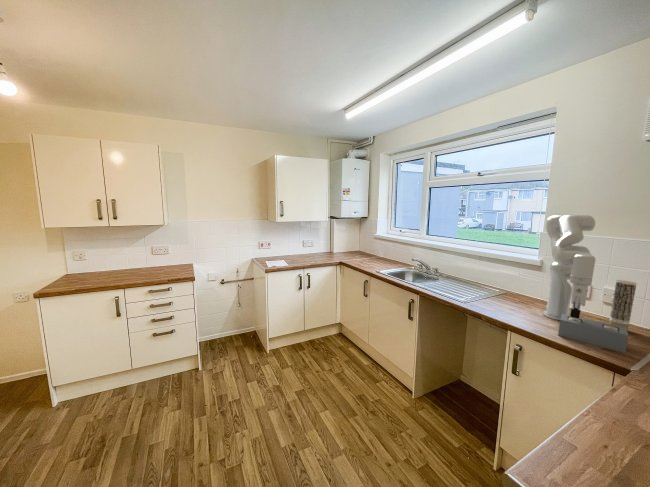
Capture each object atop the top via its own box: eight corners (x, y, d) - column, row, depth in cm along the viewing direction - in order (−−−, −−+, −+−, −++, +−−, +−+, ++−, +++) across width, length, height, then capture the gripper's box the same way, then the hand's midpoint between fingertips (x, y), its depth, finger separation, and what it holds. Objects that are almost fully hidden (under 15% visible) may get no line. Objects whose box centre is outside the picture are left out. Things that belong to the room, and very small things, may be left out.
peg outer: (601, 342, 123) (604, 327, 122) (601, 339, 126) (603, 324, 125) (615, 346, 120) (618, 330, 119) (614, 342, 123) (617, 327, 122)
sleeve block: (558, 335, 131) (560, 319, 130) (559, 328, 139) (561, 313, 138) (625, 352, 116) (628, 335, 115) (623, 343, 124) (626, 327, 123)
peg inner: (566, 333, 131) (568, 319, 130) (566, 330, 135) (568, 317, 134) (578, 336, 128) (580, 322, 127) (578, 333, 132) (581, 319, 131)
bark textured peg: (631, 332, 136) (640, 284, 132) (615, 331, 137) (624, 283, 133) (620, 326, 142) (628, 280, 139) (604, 325, 143) (612, 279, 140)
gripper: (591, 285, 120) (585, 324, 123) (591, 278, 131) (585, 314, 134) (569, 282, 125) (563, 319, 128) (570, 275, 136) (565, 310, 139)
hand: (574, 317), depth 131 cm, fingers closed
